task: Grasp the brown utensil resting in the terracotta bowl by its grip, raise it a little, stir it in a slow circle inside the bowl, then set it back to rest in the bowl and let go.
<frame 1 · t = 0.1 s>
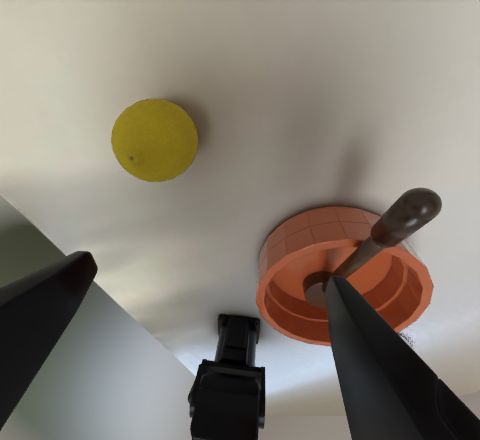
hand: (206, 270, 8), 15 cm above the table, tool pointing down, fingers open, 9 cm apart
lemon: (178, 128, 20), on the table
bowl: (325, 261, 27), on the table
brown utensil: (321, 283, 28), point 1 cm above the table, touching bowl
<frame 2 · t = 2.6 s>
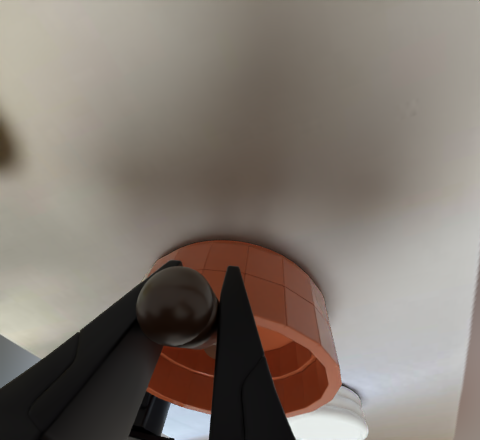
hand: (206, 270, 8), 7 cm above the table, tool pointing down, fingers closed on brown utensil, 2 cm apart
bowl: (232, 304, 20), on the table
brown utensil: (231, 332, 21), point 1 cm above the table, touching bowl, gripper
white round lid: (317, 395, 29), on the table
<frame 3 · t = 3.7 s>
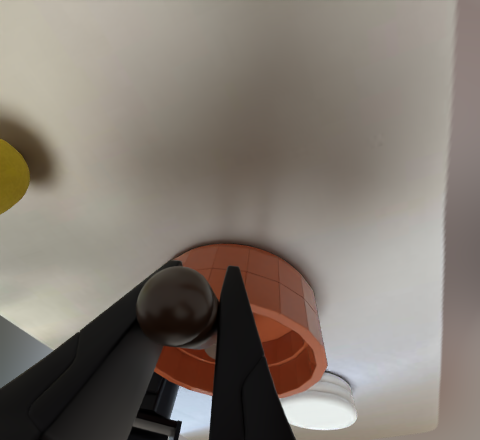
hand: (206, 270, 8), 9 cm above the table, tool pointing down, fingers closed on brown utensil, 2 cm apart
lemon: (22, 154, 17), on the table
bowl: (234, 300, 23), on the table
brown utensil: (231, 332, 21), point 3 cm above the table, touching gripper
white round lid: (311, 384, 32), on the table
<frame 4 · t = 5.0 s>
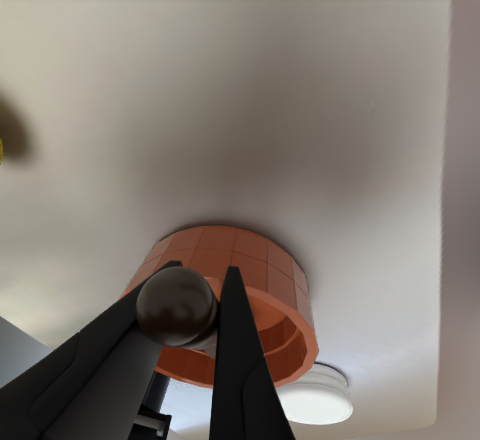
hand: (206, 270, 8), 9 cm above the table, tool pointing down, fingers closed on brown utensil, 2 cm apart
bowl: (224, 287, 22), on the table
brown utensil: (231, 332, 21), point 3 cm above the table, touching gripper
white round lid: (306, 377, 31), on the table
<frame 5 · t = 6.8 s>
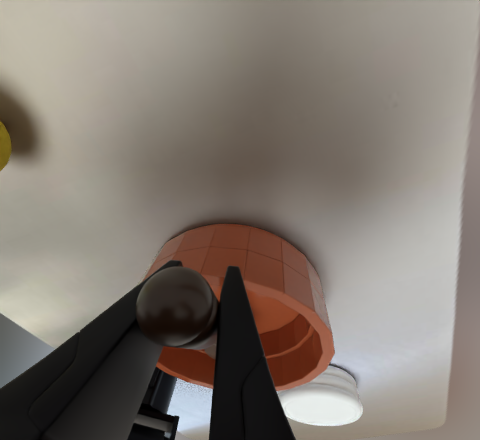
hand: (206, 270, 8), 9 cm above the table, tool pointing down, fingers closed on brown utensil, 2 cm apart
lemon: (4, 124, 16), on the table
bowl: (234, 287, 22), on the table
brown utensil: (231, 332, 21), point 3 cm above the table, touching gripper
white round lid: (314, 378, 31), on the table
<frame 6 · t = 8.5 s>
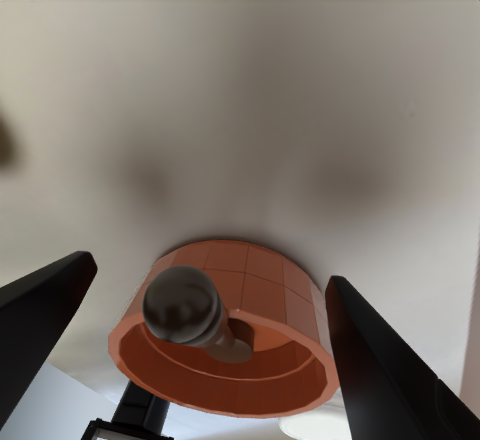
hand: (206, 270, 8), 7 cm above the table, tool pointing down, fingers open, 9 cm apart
bowl: (232, 304, 20), on the table
brown utensil: (231, 331, 21), point 1 cm above the table, touching bowl
white round lid: (316, 394, 29), on the table
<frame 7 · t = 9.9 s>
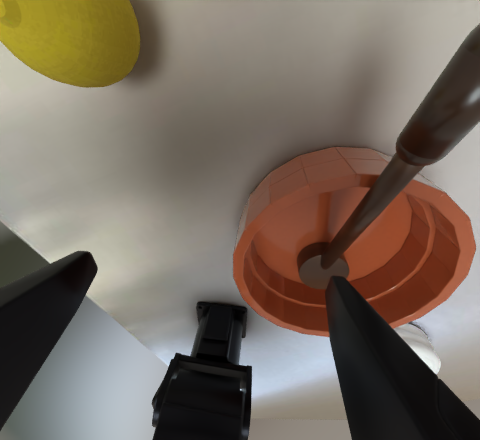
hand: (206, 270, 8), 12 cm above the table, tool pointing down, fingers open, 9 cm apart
lemon: (120, 33, 15), on the table
bowl: (324, 229, 21), on the table
brown utensil: (320, 259, 22), point 1 cm above the table, touching bowl
white round lid: (380, 339, 30), on the table
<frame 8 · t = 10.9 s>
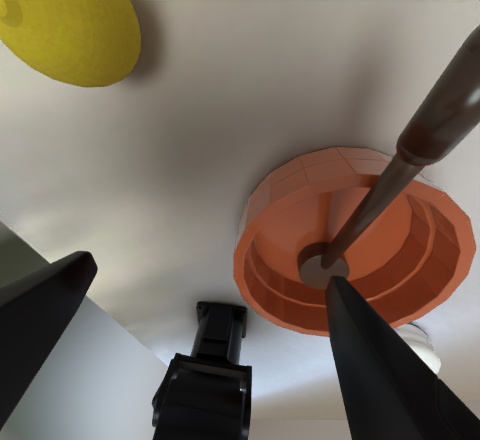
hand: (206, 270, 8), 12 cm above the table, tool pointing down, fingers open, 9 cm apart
lemon: (121, 33, 15), on the table
bowl: (325, 229, 21), on the table
brown utensil: (320, 259, 22), point 1 cm above the table, touching bowl
white round lid: (380, 339, 30), on the table
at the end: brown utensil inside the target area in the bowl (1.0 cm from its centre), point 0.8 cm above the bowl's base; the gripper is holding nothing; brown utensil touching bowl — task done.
